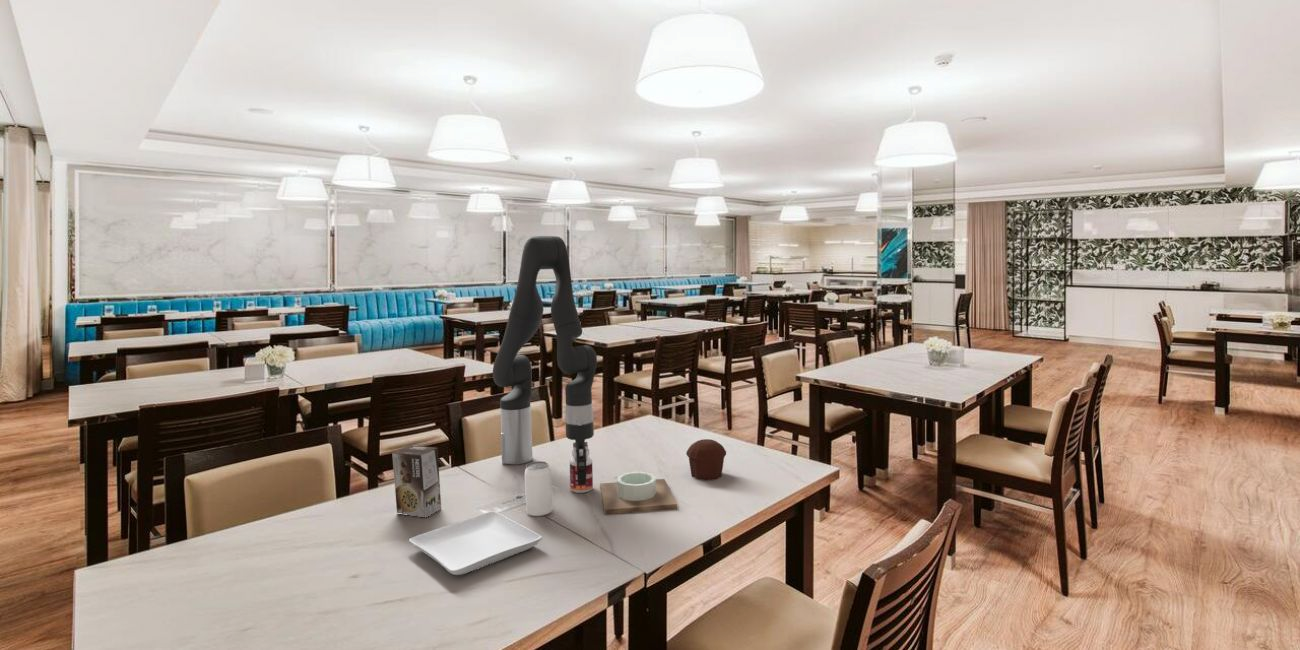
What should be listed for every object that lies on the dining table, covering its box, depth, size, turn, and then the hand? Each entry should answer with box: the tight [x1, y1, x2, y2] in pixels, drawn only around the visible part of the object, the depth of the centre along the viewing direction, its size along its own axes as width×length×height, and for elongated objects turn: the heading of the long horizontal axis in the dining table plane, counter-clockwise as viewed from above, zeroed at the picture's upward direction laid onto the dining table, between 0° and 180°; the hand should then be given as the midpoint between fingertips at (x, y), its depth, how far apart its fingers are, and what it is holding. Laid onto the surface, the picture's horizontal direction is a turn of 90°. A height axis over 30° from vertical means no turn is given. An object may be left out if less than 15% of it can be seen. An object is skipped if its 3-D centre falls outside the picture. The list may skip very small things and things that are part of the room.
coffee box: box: [391, 445, 442, 519], centre depth 151 cm, size 9×6×16 cm
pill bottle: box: [569, 448, 594, 494], centre depth 164 cm, size 6×6×11 cm
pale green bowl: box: [616, 471, 656, 501], centre depth 158 cm, size 10×10×4 cm
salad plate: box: [408, 510, 543, 576], centre depth 131 cm, size 21×21×3 cm
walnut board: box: [599, 478, 678, 515], centre depth 158 cm, size 18×18×1 cm
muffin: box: [685, 439, 727, 481], centre depth 174 cm, size 12×11×10 cm
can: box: [524, 461, 553, 517], centre depth 150 cm, size 6×6×12 cm
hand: (581, 478), depth 164 cm, fingers open, 7 cm apart
